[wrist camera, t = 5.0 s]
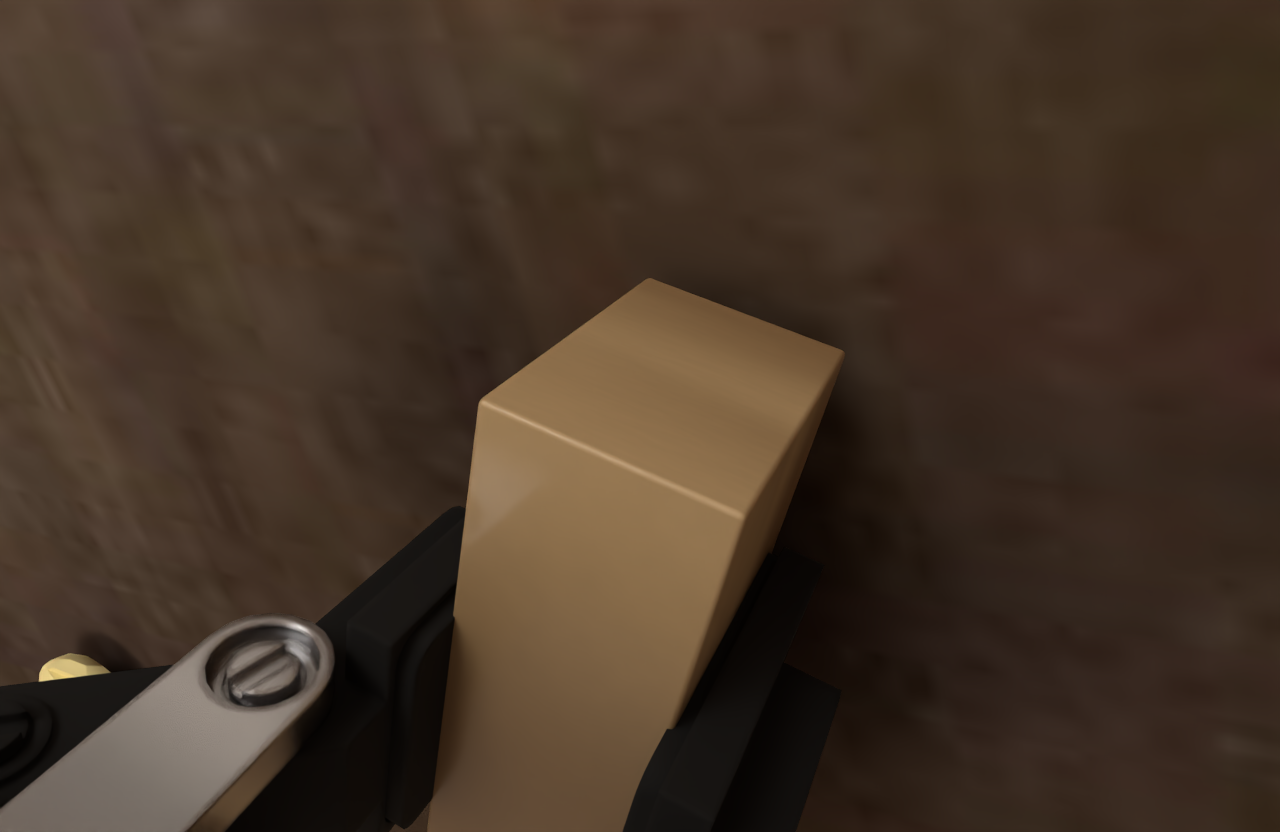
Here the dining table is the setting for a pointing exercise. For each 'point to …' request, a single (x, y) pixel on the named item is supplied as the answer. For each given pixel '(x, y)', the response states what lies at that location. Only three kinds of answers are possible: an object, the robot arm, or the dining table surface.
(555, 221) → the dining table surface
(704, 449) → the wooden handled knife
